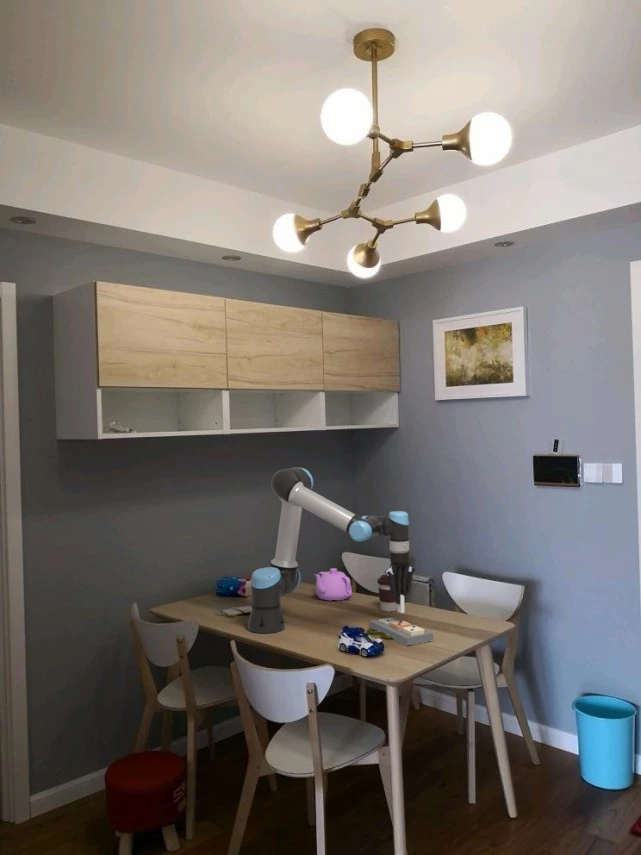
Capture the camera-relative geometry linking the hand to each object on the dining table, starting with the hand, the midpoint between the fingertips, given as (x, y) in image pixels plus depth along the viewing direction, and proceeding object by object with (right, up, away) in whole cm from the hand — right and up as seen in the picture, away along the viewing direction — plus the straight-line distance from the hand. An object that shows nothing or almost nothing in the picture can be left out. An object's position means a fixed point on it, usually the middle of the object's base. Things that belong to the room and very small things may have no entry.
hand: (400, 611), depth 266 cm
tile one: (-4, -9, +8) cm, 12 cm away
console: (0, -9, 0) cm, 9 cm away
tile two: (+4, -7, -7) cm, 11 cm away
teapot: (-27, -9, +56) cm, 63 cm away
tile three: (0, -7, 0) cm, 7 cm away
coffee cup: (-1, -9, +36) cm, 37 cm away
